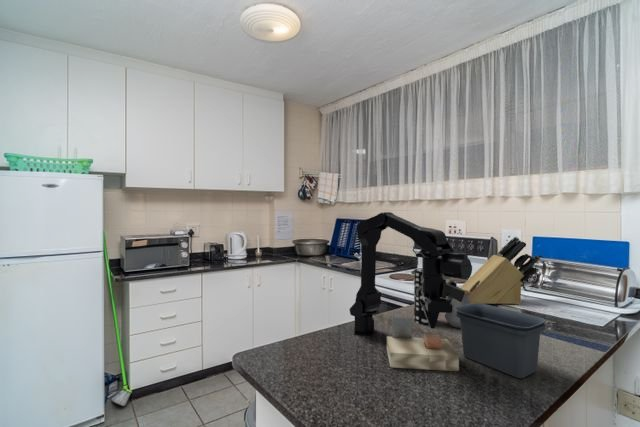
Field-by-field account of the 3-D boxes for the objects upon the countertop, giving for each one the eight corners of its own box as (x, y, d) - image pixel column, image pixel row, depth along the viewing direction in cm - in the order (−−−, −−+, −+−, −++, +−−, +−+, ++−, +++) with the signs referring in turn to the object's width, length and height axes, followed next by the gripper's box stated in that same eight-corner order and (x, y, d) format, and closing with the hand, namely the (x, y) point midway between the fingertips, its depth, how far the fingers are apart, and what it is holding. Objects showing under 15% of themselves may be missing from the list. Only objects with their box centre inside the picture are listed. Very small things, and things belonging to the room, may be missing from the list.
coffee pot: (468, 333, 115) (468, 290, 115) (438, 324, 124) (438, 285, 124) (495, 320, 128) (495, 282, 128) (466, 313, 137) (466, 278, 137)
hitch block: (390, 367, 90) (390, 352, 89) (386, 349, 101) (386, 336, 101) (458, 371, 87) (458, 356, 87) (446, 352, 99) (446, 339, 99)
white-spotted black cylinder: (425, 326, 122) (425, 273, 122) (409, 320, 129) (409, 269, 129) (441, 323, 125) (441, 271, 125) (425, 317, 133) (425, 267, 133)
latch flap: (392, 317, 100) (391, 317, 101) (391, 337, 100) (391, 336, 101) (412, 318, 100) (411, 317, 100) (412, 338, 100) (411, 337, 100)
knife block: (542, 305, 150) (542, 238, 150) (465, 304, 151) (465, 237, 151) (526, 298, 162) (526, 236, 161) (455, 298, 162) (455, 236, 162)
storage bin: (449, 355, 97) (449, 307, 97) (479, 344, 105) (479, 300, 105) (525, 388, 79) (525, 329, 79) (555, 371, 87) (555, 318, 87)
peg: (426, 362, 92) (427, 339, 92) (424, 356, 96) (424, 333, 96) (441, 363, 92) (441, 339, 92) (438, 357, 96) (438, 334, 96)
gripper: (473, 281, 84) (473, 342, 84) (452, 269, 102) (452, 318, 102) (428, 280, 85) (428, 340, 85) (416, 268, 104) (415, 317, 104)
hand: (432, 328), depth 94 cm, fingers closed
